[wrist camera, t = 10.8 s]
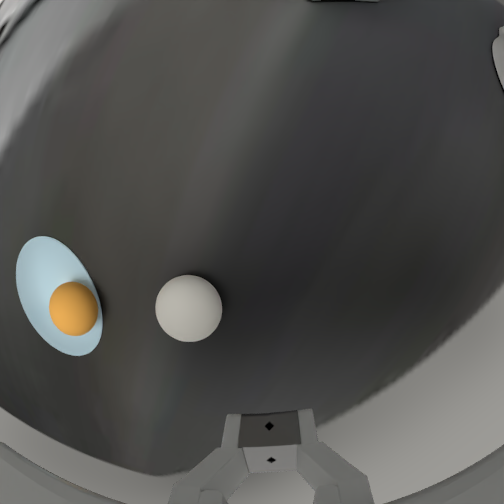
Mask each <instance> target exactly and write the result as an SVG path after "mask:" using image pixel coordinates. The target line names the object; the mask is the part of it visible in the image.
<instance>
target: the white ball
mask: <svg viewBox="0 0 504 504" xmlns="http://www.w3.org/2000/svg"><path fill="white" fill-rule="evenodd" d="M155 309H156V316H157V319H158V322H159V324H160V326H161V327H162V328H163V330H164V331H165V332H166V333H167V334H168V335H170V336H171V337H173V338H175V339H177V340H180V341H184V342H195V341H199V340H202V339H204V338H206V337H208V336H209V335H210V334H211V333H213V332H214V330H215V329H216V328H217V326H218V324H219V322H220V319H221V316H222V303H221V299H220V296H219V294H218V292H217V291H216V289H215V288H214V287H213V286H212V285H211V284H210V283H209V282H208V281H206V280H205V279H203V278H201V277H198V276H193V275H182V276H179V277H176V278H173V279H171V280H170V281H168V282H167V283H166V284H165V285H164V286H163V287H162V289H161V290H160V292H159V294H158V296H157V299H156V307H155Z"/></svg>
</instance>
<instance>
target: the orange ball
mask: <svg viewBox="0 0 504 504" xmlns="http://www.w3.org/2000/svg"><path fill="white" fill-rule="evenodd" d="M49 312H50V316H51V319H52V321H53V323H54V324H55V326H56V327H57V328H58V329H59V330H60V331H61V332H63V333H65V334H67V335H70V336H81V335H84V334H86V333H87V332H89V331H90V330H91V329H92V328H93V326H94V325H95V323H96V321H97V317H98V304H97V301H96V298H95V296H94V295H93V293H92V292H91V290H90V289H89V288H87V287H86V286H85V285H83V284H81V283H78V282H66V283H63V284H61V285H60V286H58V287H57V288H56V289H55V290H54V292H53V293H52V295H51V298H50V302H49Z"/></svg>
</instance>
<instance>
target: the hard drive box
mask: <svg viewBox="0 0 504 504" xmlns="http://www.w3.org/2000/svg"><path fill="white" fill-rule="evenodd" d="M312 1H319V0H312ZM357 1H373V2H378V1H379V0H357Z"/></svg>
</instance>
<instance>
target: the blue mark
mask: <svg viewBox="0 0 504 504" xmlns="http://www.w3.org/2000/svg"><path fill="white" fill-rule="evenodd" d="M16 282H17V289H18V294H19V297H20V301H21V303H22V306H23V309H24V311H25V313H26V315H27V317H28V319H29V320H30V322H31V324H32V325H33V327H34V328H35V329H36V331H37V332H38V333H39V334H40V335H41V337H42V338H43V339H44V340H46V341H47V342H48V343H49V344H50V345H51V346H53V347H54V348H56V349H57V350H59V351H61V352H63V353H66V354H69V355H75V356H80V355H85V354H88V353H89V352H91V351H92V350H93V349H94V348H95V347H96V346H97V344H98V343H99V341H100V338H101V335H102V329H103V316H102V309H101V304H100V300H99V297H98V294H97V291H96V288H95V286H94V284H93V281H92V279H91V277H90V275H89V274H88V272H87V270H86V269H85V267H84V265H83V264H82V263H81V261H80V260H79V258H78V257H77V256H76V255H75V254H74V253H73V252H72V251H71V250H70V249H69V248H68V247H67V246H66V245H64V244H63V243H62V242H60V241H58V240H56V239H54V238H51V237H48V236H39V237H35V238H33V239H31V240H29V241H28V242H27V243H26V244H25V245H24V247H23V248H22V250H21V252H20V254H19V257H18V261H17V266H16ZM66 282H78V283H81V284H83V285H85V286H86V287H87V288H89V289H90V290H91V292H92V293H93V295H94V296H95V298H96V301H97V304H98V317H97V321H96V323H95V325H94V326H93V328H92V329H91V330H90V331H89V332H87V333H86V334H84V335H81V336H70V335H67V334H65V333H63V332H61V331H60V330H59V329H58V328H57V327H56V326H55V324H54V323H53V321H52V319H51V316H50V312H49V302H50V298H51V295H52V293H53V292H54V290H55V289H56V288H57V287H58V286H60V285H61V284H63V283H66Z"/></svg>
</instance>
